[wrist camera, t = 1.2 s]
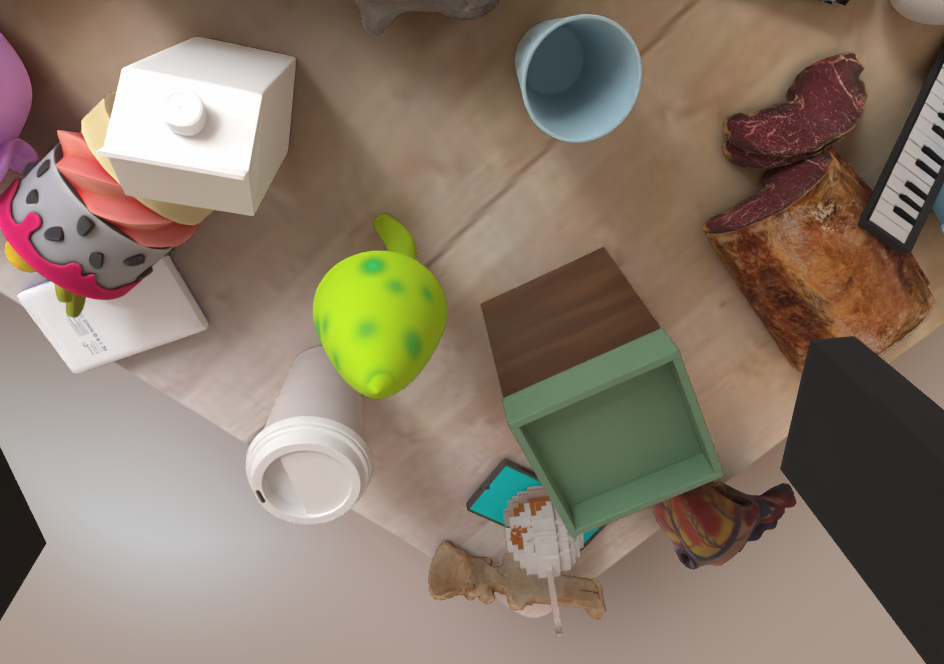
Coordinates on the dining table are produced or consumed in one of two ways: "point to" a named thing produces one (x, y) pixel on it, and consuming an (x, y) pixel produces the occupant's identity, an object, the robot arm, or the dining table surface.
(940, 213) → the teapot
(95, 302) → the hard drive
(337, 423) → the coffee cup
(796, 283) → the cured meat
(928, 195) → the midi keyboard
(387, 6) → the piggy bank
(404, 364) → the mushroom
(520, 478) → the smartphone
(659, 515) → the anatomical model
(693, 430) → the tray
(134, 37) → the dining table surface
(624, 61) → the cup
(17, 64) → the teapot
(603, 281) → the stand
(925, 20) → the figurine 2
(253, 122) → the milk carton
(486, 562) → the figurine
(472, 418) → the dining table surface
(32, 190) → the cake
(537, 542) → the decorative ornament
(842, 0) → the handgun
